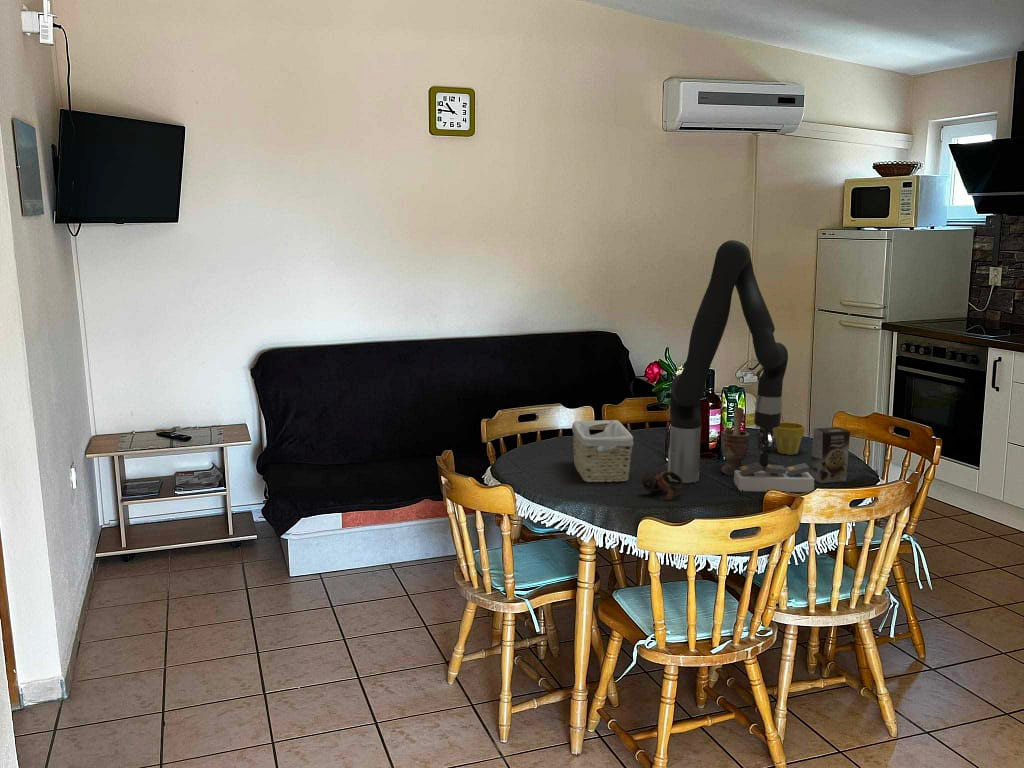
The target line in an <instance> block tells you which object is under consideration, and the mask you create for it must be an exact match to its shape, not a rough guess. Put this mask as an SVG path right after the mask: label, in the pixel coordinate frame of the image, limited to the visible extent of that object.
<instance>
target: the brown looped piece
mask: <svg viewBox="0 0 1024 768" xmlns="http://www.w3.org/2000/svg"><path fill="white" fill-rule="evenodd" d="M668 475H670V476H671V477H672V479H674V480H678V482H677V483H678V484H679V485H677V486H676V485H675V486H674V485H673V486H672V489H671V488H670V484H669V483H667V482H666V480H664V479H665V478H668ZM647 483H649V484H647ZM683 485H684V483H683V481H682V479H681V478H680V477H679V476H678V475H677V474H675V473H673V472H670V471H668V470H663V471H661V472H660V474H656V475H655V476H653V477H652V476H649V475H647V476H644V477H643V478H642V480H641V486H642V488H643V489H644V490H647V491H648V493H649V494H651V495H652V494H653V491H655V490H658V491H662V490H664V491H665V492H667V493H666V496H665V497H664V499H665V500H667V501H671V500H672V499H673V498H676V497H678V496H679V495H680V494H681V493H682V491H683Z"/></svg>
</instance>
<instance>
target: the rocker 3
mask: <svg viewBox="0 0 1024 768" xmlns="http://www.w3.org/2000/svg"><path fill="white" fill-rule="evenodd" d="M785 469H786V472H787V473H788V474H789V475H790V476H793V475H797V474H801V473H805V472H808V473H810V471H811V468H810V466H809V465H808V464H807V463H805V462H803V463H799V464H794V465H791V466H786V467H785Z"/></svg>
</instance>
